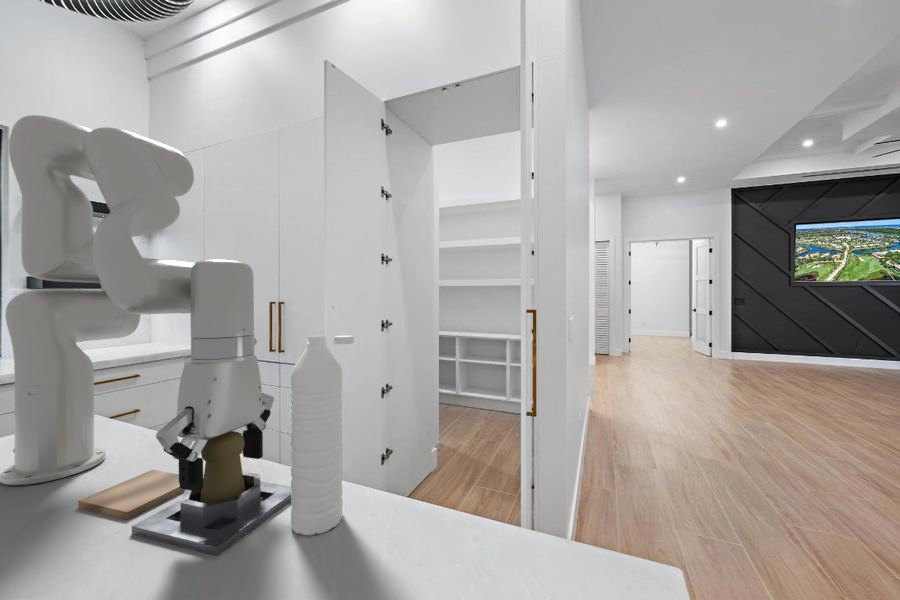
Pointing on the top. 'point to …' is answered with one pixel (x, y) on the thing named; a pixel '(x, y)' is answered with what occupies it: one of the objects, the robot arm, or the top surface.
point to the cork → (222, 468)
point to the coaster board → (134, 494)
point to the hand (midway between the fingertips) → (224, 471)
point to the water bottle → (316, 438)
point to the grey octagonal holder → (215, 517)
